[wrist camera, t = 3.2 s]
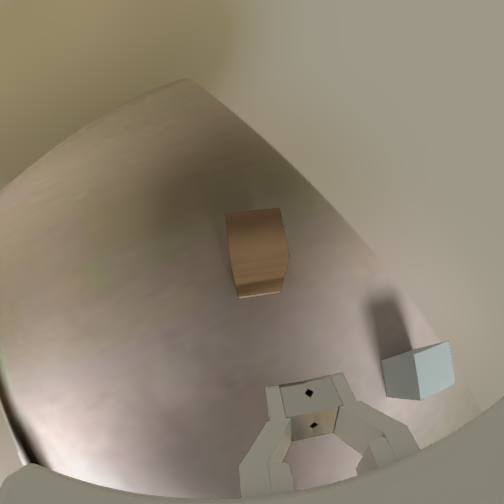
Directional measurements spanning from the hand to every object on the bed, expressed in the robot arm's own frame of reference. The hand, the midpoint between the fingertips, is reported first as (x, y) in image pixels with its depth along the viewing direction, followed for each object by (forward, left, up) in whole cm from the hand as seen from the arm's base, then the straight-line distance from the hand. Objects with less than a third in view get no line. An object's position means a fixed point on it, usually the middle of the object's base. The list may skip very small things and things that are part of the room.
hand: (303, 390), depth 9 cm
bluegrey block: (-13, -11, -21) cm, 27 cm away
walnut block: (+10, -8, -21) cm, 25 cm away
